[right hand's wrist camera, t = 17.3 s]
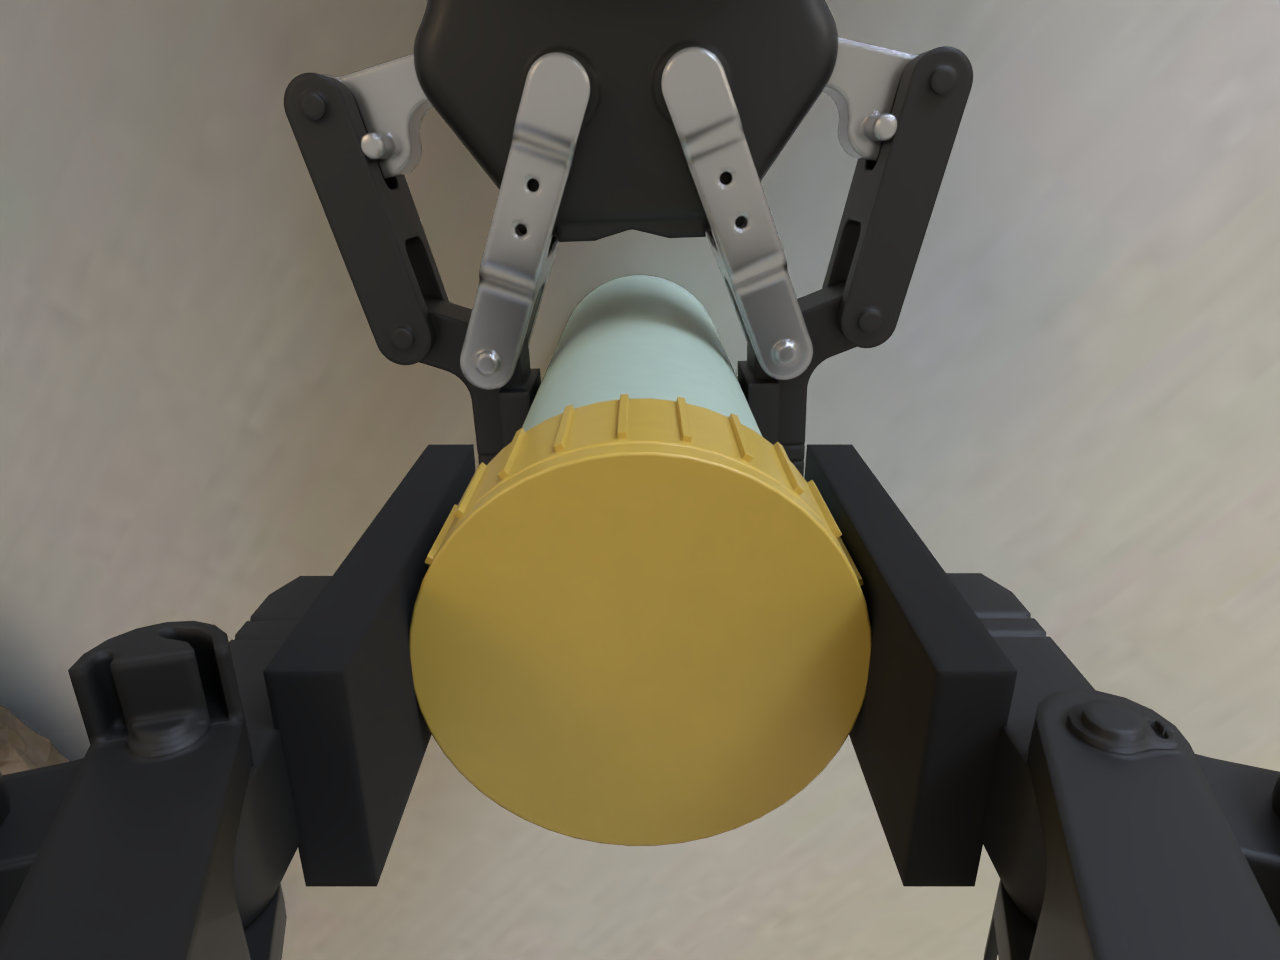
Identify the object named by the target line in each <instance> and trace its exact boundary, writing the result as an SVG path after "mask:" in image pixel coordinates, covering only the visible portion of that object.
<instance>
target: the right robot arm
mask: <svg viewBox="0 0 1280 960" xmlns="http://www.w3.org/2000/svg"><path fill="white" fill-rule="evenodd" d="M474 474H475V459H474V447H473V445H428V446H427V448H426V449H425V450H424V452H423V453H422V454H421V456H420V457H419V458H418V460H417V461H416V463H415V464H414V465H413V467H412V468H411V469H410V471H409V472H408V474H407V475H406V476H405V478H404V479H403V480H402V482H401V483H400V485H399V486H398V487H397V489H396V490H395V491H394V493H393V494H392V495H391V497H390V498H389V500H388V501H387V502H386V504H385V505H384V506H383V508H382V509H381V511H380V512H379V513H378V515H377V516H376V517H375V519H374V520H373V521H372V523H371V524H370V526H369V527H368V528H367V530H366V531H365V532H364V534H363V535H362V537H361V538H360V539H359V541H358V542H357V543H356V545H355V546H354V548H353V549H352V550H351V552H350V553H349V554H348V556H347V557H346V558H345V560H344V561H343V563H342V564H341V565H340V567H339V568H338V569H337V571H336V572H335V574H334V575H333V576H299V577H298V578H296V579H294V580H293V581H291V582H290V583H288V584H286V585H285V586H283V587H281V588H280V589H278V590H276V591H275V592H273V593H271V594H270V595H269V596H268V597H267V598H266V599H265V600H264V602H263V603H262V604H261V605H260V606H259V608H258V609H257V610H256V611H255V612H254V613H253V615H252V616H251V620H250V621H247V622H246V623H245V624H244V625H243V626H242V628H241V629H240V630H239V631H238V632H237V634H236V635H235V640H231V641H230V642H228V637H227V634H226V633H225V632H223V631H222V630H221V629H219V628H218V627H217V626H215V625H212V624H207V623H202V622H196V621H182V622H165V623H161V624H156V625H151V626H147V627H142V628H138V629H135V630H132V631H129V632H127V633H124V634H121V635H119V636H116V637H114V638H111V639H108V640H106V641H105V642H103V643H101V644H100V645H98V646H96V647H95V648H93V649H91V650H90V651H88V652H86V653H85V654H83V655H82V656H81V657H80V658H79V660H78V661H77V662H76V663H75V664H74V665H73V666H72V667H71V668H70V669H69V670H68V672H69V675H70V678H71V682H72V685H73V688H74V692H75V695H76V698H77V701H78V705H79V708H80V711H81V715H82V718H83V721H84V725H85V728H86V731H87V734H88V738H89V741H90V744H91V745H90V747H89V749H88V751H87V753H86V755H85V757H84V758H82V759H78V760H75V761H71V762H66V763H61V764H56V765H51V766H46V767H41V768H36V769H31V770H26V771H21V772H16V773H11V774H7V775H2V774H1V771H0V960H281V959H282V951H283V943H284V934H285V926H286V918H287V917H286V910H285V903H284V897H283V892H282V888H281V883H280V882H281V880H282V878H283V876H284V874H285V872H286V870H287V868H288V866H289V864H290V862H291V860H292V858H293V856H294V854H295V852H296V850H297V848H298V849H299V854H300V859H301V864H302V869H303V874H304V879H305V884H306V886H377V884H378V881H379V879H380V876H381V873H382V870H383V867H384V865H385V862H386V859H387V856H388V854H389V851H390V848H391V845H392V842H393V840H394V837H395V834H396V831H397V829H398V826H399V823H400V820H401V817H402V815H403V812H404V809H405V806H406V804H407V801H408V798H409V795H410V792H411V790H412V787H413V784H414V781H415V779H416V776H417V773H418V770H419V767H420V765H421V762H422V759H423V756H424V754H425V751H426V748H427V745H428V742H429V740H430V737H431V732H430V730H429V728H428V726H427V724H426V722H425V719H424V717H423V715H422V713H421V711H420V708H419V705H418V701H417V698H416V694H415V690H414V683H413V674H412V666H411V658H410V648H409V630H410V625H411V619H412V614H413V608H414V604H415V601H416V598H417V595H418V592H419V589H420V586H421V584H422V581H423V578H424V576H425V574H426V572H427V571H428V569H429V567H430V565H429V564H427V563H425V560H426V558H427V555H428V554H429V552H430V550H431V548H432V546H433V544H434V542H435V540H436V539H437V537H438V535H439V533H440V531H441V529H442V527H443V525H444V523H445V522H446V520H447V518H448V516H449V514H450V512H451V510H452V508H453V506H454V505H455V504H456V505H458V504H459V502H460V501H461V499H462V497H463V495H464V493H465V491H466V489H467V487H468V485H469V483H470V481H471V479H472V477H473V476H474ZM804 479H805V480H806V482H809V481H811V480H813V482H814V483H815V485H816V486H817V488H818V490H819V492H820V494H821V496H822V498H823V500H824V501H825V503H826V505H827V507H828V509H829V511H830V513H831V515H832V516H833V518H834V520H835V522H836V524H837V526H838V528H839V530H840V531H841V533H842V535H841V536H840V537H841V539H842V541H843V543H844V545H845V547H846V549H847V551H848V552H849V554H850V556H851V558H852V560H853V562H854V564H855V566H856V568H857V570H858V572H859V573H860V575H861V577H862V580H863V584H864V585H862V586H860V587H861V590H862V592H863V595H864V598H865V601H866V604H867V609H868V614H869V619H870V624H871V635H872V640H871V654H870V662H869V671H868V679H867V686H866V693H865V698H864V701H863V705H862V707H861V710H860V712H859V714H858V717H857V719H856V721H855V724H854V726H853V728H852V730H851V732H850V733H849V736H850V738H851V741H852V744H853V747H854V749H855V752H856V755H857V758H858V761H859V763H860V766H861V769H862V772H863V774H864V777H865V780H866V783H867V786H868V788H869V791H870V794H871V797H872V799H873V802H874V805H875V808H876V811H877V813H878V816H879V819H880V822H881V824H882V827H883V830H884V833H885V836H886V838H887V841H888V844H889V847H890V849H891V852H892V855H893V858H894V861H895V863H896V866H897V869H898V872H899V874H900V877H901V880H902V883H903V886H975V881H976V876H977V871H978V866H979V861H980V856H981V851H982V846H983V845H984V847H985V849H986V851H987V853H988V855H989V857H990V859H991V861H992V863H993V865H994V867H995V869H996V871H997V873H998V875H999V877H1000V883H999V888H998V892H997V897H996V902H995V906H994V911H993V916H992V920H991V925H990V930H989V934H988V939H987V944H986V948H985V953H984V960H996V959H997V955H998V957H999V960H1280V772H1278V771H1273V770H1268V769H1263V768H1258V767H1253V766H1248V765H1243V764H1238V763H1233V762H1228V761H1223V760H1218V759H1213V758H1209V757H1205V756H1201V755H1197V754H1194V752H1193V750H1192V748H1191V746H1190V744H1189V743H1188V741H1187V740H1186V739H1185V737H1184V736H1183V735H1182V734H1181V732H1180V731H1179V730H1178V729H1177V727H1176V726H1175V725H1173V724H1172V723H1170V722H1169V721H1167V720H1166V719H1165V718H1163V717H1162V716H1160V715H1159V714H1157V713H1156V712H1155V711H1153V710H1151V709H1149V708H1147V707H1145V706H1142V705H1140V704H1138V703H1136V702H1133V701H1131V700H1129V699H1127V698H1124V697H1120V696H1116V695H1112V694H1108V693H1104V692H1100V691H1096V690H1095V689H1094V688H1093V687H1092V686H1091V685H1090V683H1089V682H1088V681H1087V680H1086V679H1085V678H1084V676H1083V675H1082V674H1081V673H1080V672H1079V670H1078V669H1077V668H1076V667H1075V666H1074V665H1073V663H1072V662H1071V661H1070V660H1069V659H1068V658H1067V656H1066V655H1065V654H1064V653H1063V652H1062V650H1061V649H1060V648H1059V647H1058V646H1057V645H1056V643H1055V642H1054V641H1053V640H1052V639H1051V638H1050V637H1046V632H1045V630H1044V629H1043V628H1042V627H1041V626H1040V625H1039V623H1038V622H1037V621H1036V620H1035V619H1034V618H1031V617H1030V613H1029V612H1028V610H1027V609H1026V608H1025V607H1024V606H1023V605H1022V603H1021V602H1020V601H1019V600H1018V599H1017V598H1016V596H1015V595H1014V594H1013V593H1012V592H1011V591H1009V590H1008V589H1006V588H1004V587H1003V586H1001V585H999V584H998V583H996V582H994V581H993V580H991V579H989V578H988V577H986V576H984V575H983V574H981V573H945V571H944V570H943V569H942V567H941V566H940V565H939V563H938V562H937V560H936V559H935V558H934V556H933V555H932V554H931V552H930V551H929V550H928V548H927V547H926V545H925V544H924V543H923V541H922V540H921V539H920V537H919V536H918V534H917V533H916V532H915V530H914V529H913V528H912V526H911V525H910V524H909V522H908V521H907V519H906V518H905V517H904V515H903V514H902V513H901V511H900V510H899V508H898V507H897V506H896V504H895V503H894V502H893V500H892V499H891V497H890V496H889V495H888V493H887V492H886V491H885V489H884V488H883V487H882V485H881V484H880V482H879V481H878V480H877V478H876V477H875V476H874V474H873V473H872V471H871V470H870V469H869V467H868V466H867V465H866V463H865V462H864V461H863V459H862V458H861V456H860V455H859V454H858V452H857V451H856V450H855V448H854V447H853V445H807V453H806V466H805V478H804Z"/></svg>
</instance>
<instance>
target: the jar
mask: <svg viewBox="0 0 1280 960" xmlns="http://www.w3.org/2000/svg"><path fill="white" fill-rule="evenodd" d="M621 394H628V397H629V399H646V398H653V399H661V400H670V401H676V400H677V397H682V398H685V401H686V403H687V404H691V405H695V406H699V407H703V408H707V409H709V410H712V411H714V412H717V413H719V414H722V415H725V416H727V417H729V416H730V414H731V413H733V414H735V415H737V416H738V418H739V420H740V423H741V424H743V425H745V426H746V427H748V428H750V429H752V430H754V431H755V432H757V433H758V434H759V435H761V433H760V430H759V428H758V426H757V423H756V421H755V419H754V416H753V414H752V412H751V410H750V407H749V405H748V403H747V400H746V398H745V396H744V393H743V391H742V389H741V387H740V384H739V382H738V380H737V377H736V375H735V373H734V370H733V368H732V366H731V364H730V361H729V359H728V357H727V354H726V352H725V350H724V348H723V345H722V343H721V341H720V338H719V336H718V334H717V331H716V329H715V327H714V325H713V322H712V320H711V318H710V316H709V315H708V313H707V311H706V310H705V308H704V307H703V306H702V304H701V303H700V302H699V301H698V300H697V299H696V298H695V297H694V296H693V295H692V294H691V293H690V292H688V291H687V290H686V289H684V288H683V287H681V286H679V285H677V284H676V283H673V282H671V281H669V280H666V279H663V278H659V277H655V276H647V275H632V276H625V277H621V278H617V279H614V280H611V281H609V282H607V283H604V284H603V285H601V286H599V287H598V288H596V289H594V290H593V291H592V292H591V293H589V294H588V295H587V296H586V297H585V298H584V299H583V300H582V301H581V302H580V303H579V304H578V306H577V307H576V308H575V310H574V311H573V313H572V315H571V317H570V318H569V320H568V322H567V325H566V327H565V329H564V332H563V334H562V336H561V339H560V341H559V343H558V345H557V348H556V350H555V352H554V355H553V357H552V359H551V362H550V364H549V366H548V369H547V371H546V373H545V376H544V378H543V380H542V383H541V385H540V387H539V389H538V392H537V394H536V396H535V399H534V401H533V403H532V406H531V408H530V410H529V413H528V415H527V417H526V420H525V422H524V424H523V426H522V428H523V429H524V431H525V432H526V431H528V430H529V429H531V428H533V427H534V426H536V425H538V424H540V423H541V422H543V421H545V420H547V419H549V418H552V417H554V416H556V415H559V414H561V413H563V412H564V409H565V406H568V405H571V404H572V405H573V407H574V409H575V408H578V407H582V406H586V405H590V404H593V403H597V402H604V401H611V400H619V399H620V395H621ZM761 436H762V435H761Z"/></svg>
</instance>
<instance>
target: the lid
mask: <svg viewBox="0 0 1280 960" xmlns="http://www.w3.org/2000/svg"><path fill="white" fill-rule="evenodd" d="M841 535H842V533H841V531H840V530H839V528H838V526H837V524H836V522H835V520H834V518H833V516H832V515H831V513H830V511H829V509H828V507H827V505H826V503H825V501H824V500H823V498H822V496H821V494H820V492H819V490H818V488H817V486H816V485H815V483H814V482H813V480H811V481H809V482H806V480H805V479H804V478H803V476H802V475H801V474H800V472H799V471H798V470H797V468H796V467H795V466H794V465H793V463H791V462H790V460H789V458H788V456H787V454H786V452H785V450H784V448H783V446H782V445H781V444H780V443H779V442H776V443H775V444H774V445H773V444H771V443H770V442H769V441H767V440H766V439H765V438H763V437H762V436H761V435H759V434H758V433H757V432H755V431H754V430H752V429H750V428H748V427H746V426H745V425H743V424H741V423H740V420H739V418H738V416H737V415H735V414H733V413H731V414H730V416H729V417H727V416H725V415H722V414H719V413H717V412H714V411H712V410H709V409H707V408H703V407H699V406H695V405H691V404H687V403H686V401H685V398H682V397H677V400H676V401H670V400H661V399H653V398H646V399H629V397H628V394H621V395H620V399H619V400H611V401H604V402H597V403H593V404H590V405H586V406H582V407H578V408H575V409H574V407H573V405H572V404H571V405H568V406H565V409H564V412H563V413H561V414H559V415H556V416H554V417H552V418H549V419H547V420H545V421H543V422H541V423H540V424H538V425H536V426H534V427H533V428H531V429H529V430H528V431H526V432H525V431H524V429H523V428H521V429H519V430H518V431H517V432H516V434H515V436H514V438H513V440H512V442H511V443H510V444H508V445H507V446H506V447H505V448H503V449H502V450H501V451H500V452H499V453H498V454H497V455H496V456H495V457H494V458H493V459H492V460H491V461H490V462H489V463H488V465H485V464H484V463H483V462H482V463H481V464H480V465H479V466H478V468H477V470H476V472H475V474H474V476H473V477H472V479H471V481H470V483H469V485H468V487H467V489H466V491H465V493H464V495H463V497H462V499H461V501H460V502H459V504H458V505H456V504H455V505H454V506H453V508H452V510H451V512H450V514H449V516H448V518H447V520H446V522H445V523H444V525H443V527H442V529H441V531H440V533H439V535H438V537H437V539H436V540H435V542H434V544H433V546H432V548H431V550H430V552H429V554H428V555H427V558H426V560H425V563H427V564H429V565H430V567H429V569H428V571H427V572H426V574H425V576H424V578H423V581H422V584H421V586H420V589H419V592H418V595H417V598H416V601H415V604H414V608H413V614H412V619H411V625H410V630H409V648H410V658H411V666H412V674H413V683H414V690H415V694H416V698H417V701H418V705H419V708H420V711H421V713H422V715H423V717H424V719H425V722H426V724H427V726H428V728H429V730H430V732H431V734H432V735H433V737H434V739H435V740H436V742H437V743H438V745H439V746H440V748H441V750H442V751H443V753H444V754H445V755H446V756H447V758H448V759H449V760H450V761H451V762H452V764H453V765H454V766H455V767H456V768H457V770H458V771H459V772H460V773H461V774H462V775H463V776H464V777H465V778H466V779H467V780H468V781H469V782H471V783H472V784H473V785H474V786H475V787H476V788H477V789H478V790H479V791H480V792H482V793H483V794H485V795H486V796H487V797H489V798H490V799H491V800H493V801H494V802H496V803H497V804H498V805H500V806H501V807H503V808H505V809H507V810H508V811H510V812H512V813H514V814H515V815H517V816H519V817H521V818H522V819H524V820H527V821H529V822H531V823H534V824H536V825H538V826H541V827H543V828H545V829H548V830H550V831H554V832H557V833H560V834H563V835H567V836H570V837H573V838H578V839H583V840H588V841H593V842H598V843H605V844H615V845H626V846H657V845H666V844H675V843H684V842H688V841H693V840H698V839H703V838H707V837H711V836H714V835H717V834H721V833H724V832H727V831H730V830H733V829H736V828H738V827H740V826H743V825H745V824H747V823H749V822H752V821H754V820H756V819H758V818H760V817H762V816H764V815H766V814H767V813H769V812H771V811H772V810H774V809H776V808H778V807H779V806H781V805H783V804H784V803H785V802H787V801H788V800H789V799H791V798H792V797H793V796H795V795H796V794H797V793H799V792H800V791H801V790H803V789H804V788H805V787H806V786H807V785H808V784H809V783H810V782H811V781H812V780H813V779H814V778H816V777H817V776H818V775H819V774H820V773H821V772H822V771H823V770H824V768H825V767H826V766H827V765H828V763H829V762H830V761H831V760H832V759H833V757H834V756H835V755H836V754H837V752H838V751H839V750H840V748H841V746H842V745H843V743H844V741H845V740H846V738H847V737H848V735H849V733H850V732H851V730H852V728H853V726H854V724H855V721H856V719H857V717H858V714H859V712H860V710H861V707H862V705H863V701H864V698H865V693H866V686H867V679H868V671H869V662H870V654H871V640H872V635H871V624H870V619H869V614H868V609H867V604H866V601H865V598H864V595H863V592H862V590H861V587H860V586H862V585H864V584H863V580H862V577H861V575H860V573H859V572H858V570H857V568H856V566H855V564H854V562H853V560H852V558H851V556H850V554H849V552H848V551H847V549H846V547H845V545H844V543H843V541H842V539H841V537H840V536H841Z"/></svg>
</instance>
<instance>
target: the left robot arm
mask: <svg viewBox="0 0 1280 960" xmlns="http://www.w3.org/2000/svg"><path fill="white" fill-rule="evenodd" d="M972 82H973V70H972V66H971V63H970V61H969V59H968V58H967V56H966V55H965V54H964V53H963V52H961V51H960V50H958V49H956V48H953V47H945V46H944V47H939V48H936V49H933V50H930V51H927V52H924V53H922V54H918V55H913V54H909V53H904V52H900V51H896V50H891V49H887V48H883V47H878V46H874V45H870V44H865V43H861V42H856V41H852V40H848V39H843V38H839V37H838V34H837V29H836V25H835V21H834V19H833V16H832V14H831V12H830V10H829V8H828V6H827V4H826V2H825V0H428V2H427V7H426V10H425V14H424V17H423V20H422V22H421V25H420V27H419V29H418V32H417V35H416V39H415V44H414V54H411V55H408V56H405V57H401V58H398V59H395V60H392V61H389V62H385V63H382V64H379V65H376V66H373V67H370V68H366V69H363V70H360V71H357V72H354V73H351V74H347V75H344V76H341V77H335V76H331V75H324V74H322V75H320V74H316V73H304V74H301V75H299V76H297V77H295V78H294V79H293V80H292V81H291V82H290V83H289V85H288V87H287V88H286V91H285V95H284V108H285V112H286V115H287V118H288V120H289V123H290V125H291V128H292V130H293V133H294V135H295V138H296V141H297V143H298V146H299V148H300V151H301V153H302V156H303V158H304V161H305V163H306V166H307V168H308V171H309V174H310V176H311V179H312V181H313V184H314V186H315V189H316V191H317V194H318V196H319V199H320V201H321V204H322V206H323V209H324V212H325V214H326V217H327V219H328V222H329V224H330V227H331V229H332V232H333V234H334V237H335V239H336V242H337V244H338V247H339V250H340V252H341V255H342V257H343V260H344V262H345V265H346V267H347V270H348V272H349V275H350V277H351V280H352V283H353V285H354V288H355V290H356V293H357V295H358V298H359V300H360V303H361V305H362V308H363V310H364V313H365V315H366V318H367V321H368V323H369V326H370V328H371V331H372V333H373V336H374V338H375V341H376V343H377V346H378V348H379V350H380V351H381V353H382V354H383V355H384V356H385V357H386V358H387V359H389V360H390V361H392V362H394V363H397V364H400V365H411V364H415V363H417V362H420V363H423V364H427V365H430V366H433V367H436V368H440V369H443V370H446V371H448V372H451V373H453V374H454V375H456V376H457V377H459V378H460V379H461V380H462V381H463V382H464V384H465V385H466V386H467V388H468V390H469V392H470V395H471V398H472V405H473V414H474V423H475V432H476V441H477V450H478V455H479V458H478V459H479V465H480V464H481V463H482V462H483V463H484V464H485V465H488V463H489V462H490V461H491V460H492V459H493V458H494V457H495V456H496V455H497V454H498V453H499V452H500V451H501V450H502V449H503V448H505V447H506V446H507V445H508V444H510V443H511V442H512V440H513V438H514V436H515V434H516V432H517V431H518V430H519V429H521V428H522V426H523V424H524V422H525V420H526V417H527V415H528V413H529V410H530V408H531V406H532V403H533V401H534V399H535V396H536V394H537V392H538V389H539V387H540V385H541V377H540V369H530V359H529V347H528V345H529V342H530V338H531V335H532V331H533V328H534V324H535V321H536V317H537V314H538V310H539V307H540V303H541V300H542V296H543V293H544V290H545V286H546V283H547V280H548V277H549V275H550V272H551V269H552V266H553V263H554V259H555V256H556V252H557V249H558V245H559V242H570V241H595V240H598V239H601V238H604V237H608V236H611V235H614V234H617V233H620V232H623V231H626V230H631V229H633V230H638V231H643V232H647V233H651V234H655V235H659V236H663V237H667V238H683V237H706V235H707V237H708V240H709V243H710V245H711V248H712V251H713V254H714V256H715V259H716V261H717V264H718V266H719V269H720V271H721V273H722V276H723V278H724V281H725V284H726V286H727V289H728V292H729V295H730V297H731V300H732V303H733V305H734V308H735V311H736V314H737V316H738V319H739V322H740V324H741V327H742V330H743V333H744V335H745V338H746V341H747V361H738V382H739V384H740V387H741V389H742V391H743V393H744V396H745V398H746V400H747V403H748V405H749V407H750V410H751V412H752V414H753V416H754V419H755V421H756V423H757V426H758V428H759V430H760V433H761V435H762V437H763V438H765V439H766V440H767V441H769V442H770V443H771V444H773V445H774V444H775V443H776V442H779V443H780V444H781V445H782V446H783V448H784V450H785V452H786V454H787V456H788V458H789V460H790V462H791V463H793V465H794V466H795V467H796V468H797V470H798V471H799V472H800V474H801V475H802V476H803V473H804V448H805V446H804V442H805V424H806V399H807V384H808V381H809V378H810V376H811V374H812V372H813V371H814V369H815V368H816V367H817V366H818V365H819V364H820V363H821V362H822V361H824V360H825V359H827V358H829V357H831V356H834V355H836V354H839V353H842V352H844V351H847V350H849V349H852V348H855V347H857V346H858V347H861V348H872V347H876V346H878V345H880V344H882V343H884V342H885V341H886V340H887V339H888V338H889V337H890V336H891V335H892V333H893V332H894V330H895V327H896V324H897V321H898V318H899V315H900V312H901V309H902V305H903V302H904V299H905V296H906V293H907V290H908V286H909V283H910V280H911V277H912V274H913V271H914V267H915V264H916V261H917V258H918V255H919V252H920V248H921V245H922V242H923V239H924V236H925V233H926V229H927V226H928V223H929V220H930V217H931V214H932V210H933V207H934V204H935V201H936V198H937V195H938V191H939V188H940V185H941V182H942V179H943V175H944V172H945V169H946V166H947V163H948V160H949V156H950V153H951V150H952V147H953V144H954V141H955V137H956V134H957V131H958V128H959V125H960V122H961V118H962V115H963V112H964V109H965V106H966V103H967V99H968V96H969V93H970V90H971V86H972ZM822 91H823V92H825V93H826V94H828V95H829V96H830V97H831V98H832V99H833V100H834V102H835V104H836V106H837V108H838V112H839V126H838V138H839V142H840V145H841V146H842V148H843V149H844V151H845V152H846V153H847V154H849V155H850V156H852V157H854V158H857V159H858V162H857V165H856V169H855V172H854V176H853V180H852V183H851V187H850V190H849V194H848V198H847V201H846V205H845V208H844V212H843V216H842V219H841V223H840V226H839V230H838V234H837V237H836V241H835V244H834V248H833V252H832V255H831V259H830V262H829V266H828V270H827V273H826V277H825V280H824V284H823V288H822V289H821V290H819V291H816V292H814V293H811V294H809V295H806V296H804V297H801V298H799V299H797V298H796V295H795V292H794V289H793V286H792V283H791V280H790V277H789V274H788V270H787V262H786V258H785V254H784V251H783V248H782V245H781V242H780V239H779V236H778V233H777V230H776V227H775V224H774V221H773V218H772V215H771V212H770V209H769V207H768V204H767V201H766V198H765V195H764V192H763V189H762V186H761V183H760V181H761V180H762V178H763V177H764V176H765V174H766V173H767V171H768V170H769V168H770V167H771V165H772V164H773V162H774V161H775V159H776V158H777V157H778V155H779V154H780V152H781V151H782V149H783V148H784V146H785V145H786V143H787V142H788V140H789V139H790V138H791V136H792V135H793V133H794V132H795V130H796V129H797V127H798V126H799V124H800V123H801V121H802V120H803V119H804V117H805V116H806V114H807V113H808V111H809V110H810V108H811V107H812V105H813V104H814V102H815V101H816V100H817V98H818V97H819V95H820V94H821V92H822ZM432 107H434V108H435V109H436V110H437V112H438V113H439V114H440V115H441V117H442V118H443V119H444V120H445V122H446V123H447V124H448V125H449V127H450V128H451V129H452V130H453V132H454V133H455V134H456V135H457V137H458V138H459V139H460V140H461V142H462V143H463V144H464V146H465V147H466V148H467V149H468V151H469V152H470V153H471V154H472V156H473V157H474V158H475V159H476V161H477V162H478V163H479V164H480V166H481V167H482V168H483V169H484V171H485V172H486V173H487V174H488V176H489V177H490V178H491V180H492V181H493V182H494V183H495V185H496V186H497V187H498V188H499V190H500V191H499V195H498V199H497V203H496V207H495V211H494V215H493V219H492V222H491V226H490V230H489V234H488V238H487V242H486V246H485V250H484V254H483V257H482V262H481V266H480V273H479V277H480V281H479V286H478V290H477V294H476V298H475V302H474V306H473V310H472V309H468V308H465V307H462V306H459V305H456V304H453V303H450V302H449V300H448V297H447V294H446V292H445V289H444V286H443V283H442V280H441V278H440V275H439V272H438V269H437V266H436V263H435V261H434V258H433V255H432V252H431V249H430V247H429V244H428V241H427V238H426V235H425V232H424V230H423V227H422V224H421V221H420V218H419V216H418V213H417V210H416V207H415V204H414V201H413V199H412V196H411V193H410V190H409V187H408V185H407V182H406V179H405V176H404V175H406V174H408V173H410V172H412V171H413V170H414V169H415V168H416V166H417V165H418V163H419V161H420V158H421V153H422V146H421V141H420V134H419V129H420V124H421V120H422V118H423V116H424V115H425V113H426V112H427V111H428V110H429V109H430V108H432Z"/></svg>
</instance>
